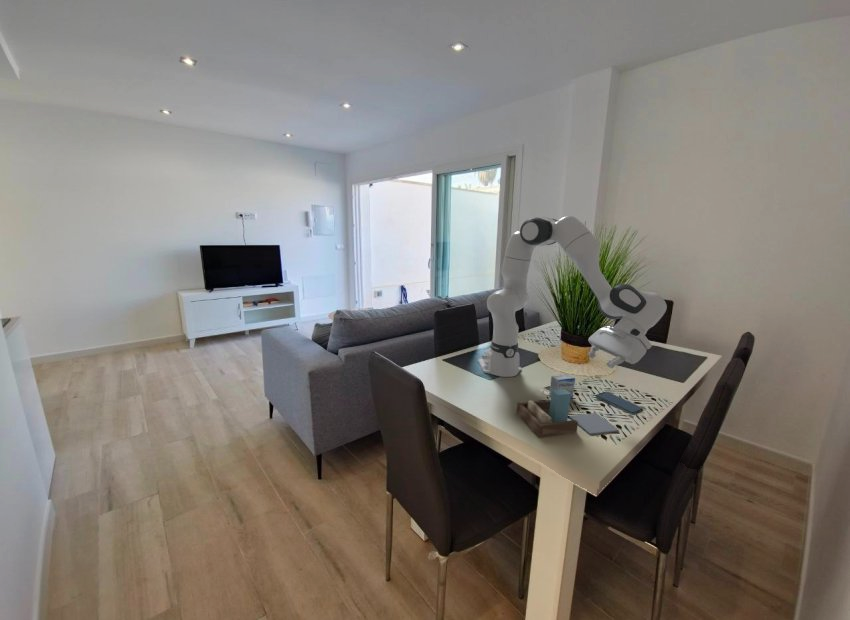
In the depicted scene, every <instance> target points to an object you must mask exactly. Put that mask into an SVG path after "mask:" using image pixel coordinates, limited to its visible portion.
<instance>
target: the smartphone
mask: <svg viewBox="0 0 850 620" xmlns="http://www.w3.org/2000/svg"><path fill="white" fill-rule="evenodd" d="M595 398H596V399H597V400H600V401H601V402H602V403H603V402H604V403H606V404H608V405H610V406H613V407H614V408H617V409H619V410H622V411H623V412H626V413H627V414H630V415H635V413H636V414H638V413H640V412H642V411H643V410H644V408H643V407H641V406H639V404H638V405H637V404H635V403H633V402H631V401H629V400H626V399H625V398H622V397H620V396H618V395H615V394H613V393H611V392H609V391H602V392H600V393H597V394H596V395H595Z"/></svg>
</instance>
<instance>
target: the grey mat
mask: <svg viewBox="0 0 850 620" xmlns="http://www.w3.org/2000/svg"><path fill="white" fill-rule="evenodd" d="M568 419H570V421H571V420H576V421H578V426H577V427H579V428H581V429H582V430H583V431H584V432H586V433H587V434H588V435H589V436H593V435H595V436H596V435H602V434H609V433H619V432H620V429H618V428H617V427H616V426H614V425H613V424H612V423H611V422H609V421H607V420H606V419H605V418H604V417H602V416H601V415H599V414H598V413H597V412H593V413H583V414H574V415H568Z"/></svg>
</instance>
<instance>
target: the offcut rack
mask: <svg viewBox="0 0 850 620" xmlns="http://www.w3.org/2000/svg"><path fill="white" fill-rule="evenodd" d="M550 400H551V399H547V400H545V399H544V400H536V401H533V400H532V401H533V402H534V403H535V404H536V405H538V406H539V407H540V408H541V409H542V410H543V411H544V412H545V413H549V409H550ZM527 408H528V401H525V402H517V403H516V412H515V413H516V415H517V416H518V417H519V418H520V419H521V420H522V421H523V422H524V423H525V424H526V426H527V427H529V429H530V430H531V432H533V434H535V435H536V436H537V438H544V437H554V436H562V435H570V434H578V433H577V432H578V427H579V426H578V421H576V420H571V419H570V420H567V421H562V422H553V423H552V422H551V423H544V424H541V423H540V422H539V421H538V420H537V419H536V418H535V417H534V416H533V415H532V414H531V413H530V412H529V411H528V410H527Z"/></svg>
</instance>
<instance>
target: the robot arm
mask: <svg viewBox="0 0 850 620" xmlns="http://www.w3.org/2000/svg"><path fill="white" fill-rule="evenodd" d="M554 244H559V247H561V248H562V250H563V251H564V253H565V254H566V255H567V256H568V258H569V259H570V261H571V262H572V264H574V266H575V267H576V269H577V270H578V271H579V273H580V274H581V276H582V278H583V279H584V282H586V284H587V286H588V287H589V289H590V290H591V292H592V293H593V295H594V297H595V298H596V301H597V305H598V310H599V312H600V313H601V315H603V316H604V317H605V318H607V319H610V320H619V319H620V320H619V321H617V323H616V324H614V326H609V325H606V326H602V327H601V328H599V329H598V330H596V331H595V332H594V333H593V334H591V335H590V336H589V337H588V340H587V341H588V343H589V344H590V345H591V347H590V351H589V352H588V353H587V356H588V357H589V358H591V359H594V357H596V356H597V354H596V352H598V351H599V350H600V351H602V352H605V353H607V354H609V355H611V356H614V358H615V359H613V360H609V361H608V362H607V363H606V366H607V367H608V368H610V369H614V368H615V367H616V366H617V365H620V364H623V363H624V362H626V363H628V364H631V365H635V364H637V363H638V362H640V360H641V359H642V358H643V357H644V356H645V355H646V353H647V350H650V349H651V348H652V347H653V346H652V342H650V340H649V339H648V338H647V336H646V334H647V332H648V331H649V330H650V329H651V328H653V327H654V326H655V325H656V324H657V323H658V322H660V320H661V319H662V318H663V316H664V315H665V313H666V312H667V308H668V306H667V303H666V301H665V299H664V298H663V297H662V296H661V295H660V294H658V293H656V292H654V291H653V292H650V291H645V290H644V291H643V290H640V289H637V288H636V287H634V286H632V285H630V284H627V283H621V284H617V285H615V286H613V287H611V285H610V283H609V281H608V280H607V279H606V277H605V276H604V274H603V272H602V270H601V269H600V255H601V247H600V244H599V242H598V240H597V238H596V237H595V235H593V233H592V232H591V231H590V229H589V228H588V227H587V226H586V225H585V224H584V223H583V222H582V221H580V220H579V219H578V218H577V217H576V216H575V215H567V216H563V217H561V218H560V219H555V218H550V217H545V216H541V217H539V216H538V217H535V216H534V217H530V218H528V219H526V220H525V221H524V222H523V223H522V225H521V226H520V228H519V230H517V231H515V232H513V233H512V234H511V235H510V237H509V240H508V242H507V244H506V248H505V252H504V257H503V262H502V266H501V272H500V273H501V276H502V277H503V286H502V287H503V288H502V289H498V290H495V291H494V292H492V293H491V294H490V295H489V296H488V298H487V300H486V308H487V310H488V311H489V312H490V313H491V317H492V323H493V326H492V327H493V333H492V339H491V340H490V347H488V348H487V349H486V350H484V351H483V354H482V356H481V358H479V359H478V361H477V362H478V363H479V366H480V368H481V370H482V372H483V373H485V374H489V375H490V374H491V375H494V376H496V377H503V378H509V377H515V376H517V375H518V374H519V373H520V372H521V371H522V367H521V366H520V353H519V352H518V351H519V343H518V340H519V329H520V328H519V327H520V326H519V324H518V323H517V320H516V312H517V311H520V310H521V309H523V308H525V306H526V305H527V304H528V302H529V293H528V292H527V291H528V289H527V283H528V281H527V279H528V273H529V269H530V265H531V260H532V256H533V252H534V250H535V248H536V247H541V246H543V247H544V246H550V245H554Z"/></svg>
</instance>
